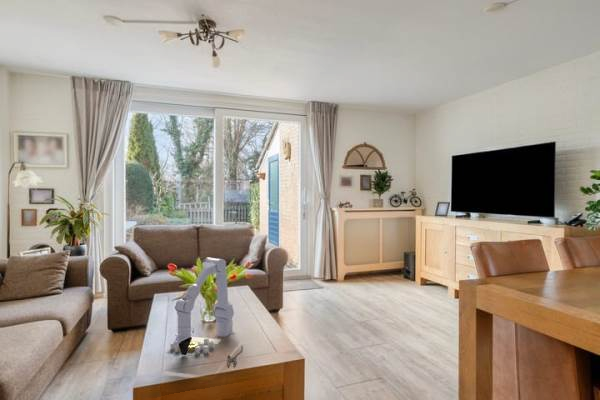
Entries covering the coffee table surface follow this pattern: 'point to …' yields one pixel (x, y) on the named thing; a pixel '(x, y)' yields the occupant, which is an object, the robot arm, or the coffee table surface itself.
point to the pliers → (233, 359)
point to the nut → (192, 346)
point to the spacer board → (197, 347)
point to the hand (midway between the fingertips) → (184, 354)
